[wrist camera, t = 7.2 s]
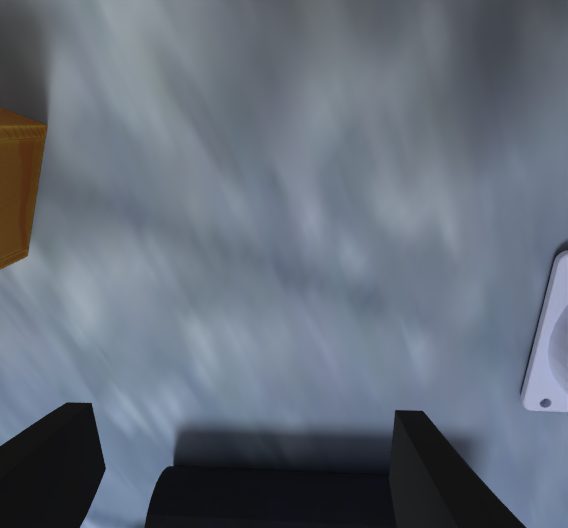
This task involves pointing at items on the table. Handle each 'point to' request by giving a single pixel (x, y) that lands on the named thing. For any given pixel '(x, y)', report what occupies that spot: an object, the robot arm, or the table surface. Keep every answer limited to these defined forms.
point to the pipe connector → (269, 499)
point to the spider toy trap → (18, 182)
